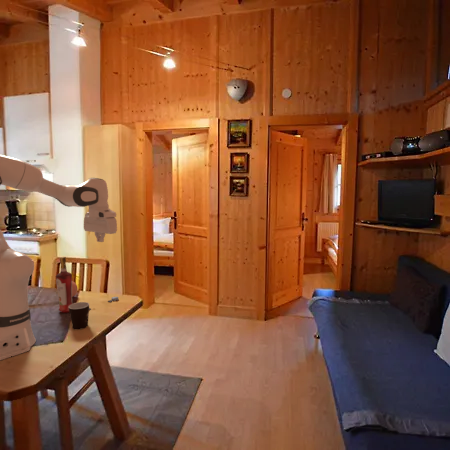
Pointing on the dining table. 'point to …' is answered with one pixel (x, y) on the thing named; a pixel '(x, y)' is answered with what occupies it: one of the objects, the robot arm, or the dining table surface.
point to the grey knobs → (111, 300)
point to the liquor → (64, 287)
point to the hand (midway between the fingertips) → (100, 241)
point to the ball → (74, 288)
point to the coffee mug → (79, 315)
